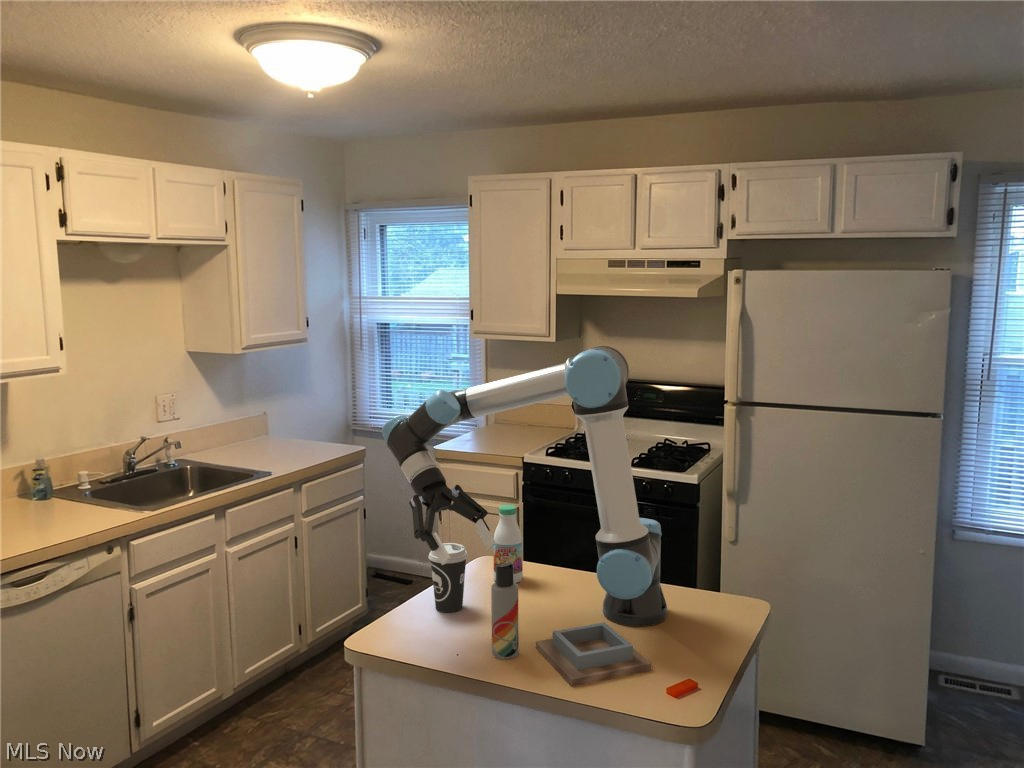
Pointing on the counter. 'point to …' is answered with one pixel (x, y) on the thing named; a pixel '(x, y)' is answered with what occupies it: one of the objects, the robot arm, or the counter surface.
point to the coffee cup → (449, 578)
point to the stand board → (591, 674)
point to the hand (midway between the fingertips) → (469, 553)
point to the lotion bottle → (504, 613)
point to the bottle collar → (595, 658)
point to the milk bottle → (508, 542)
